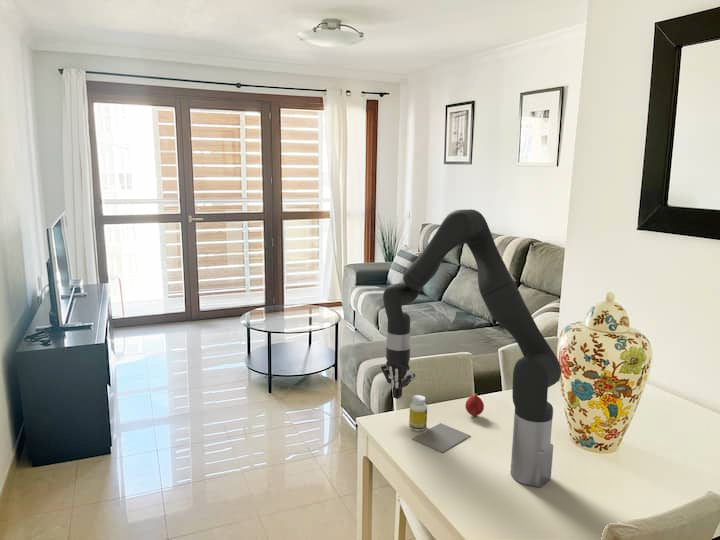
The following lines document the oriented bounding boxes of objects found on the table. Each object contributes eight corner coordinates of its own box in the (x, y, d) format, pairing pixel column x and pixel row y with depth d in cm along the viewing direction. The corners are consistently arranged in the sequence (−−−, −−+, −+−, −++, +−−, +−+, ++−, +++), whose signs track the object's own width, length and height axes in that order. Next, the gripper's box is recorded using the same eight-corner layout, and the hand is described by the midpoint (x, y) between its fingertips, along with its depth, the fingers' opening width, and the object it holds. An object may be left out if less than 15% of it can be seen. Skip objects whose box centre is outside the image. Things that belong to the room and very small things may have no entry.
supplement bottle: (427, 431, 160) (428, 401, 158) (409, 431, 160) (410, 401, 158) (425, 423, 165) (426, 394, 163) (408, 423, 165) (409, 393, 163)
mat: (470, 436, 157) (470, 435, 157) (442, 453, 147) (442, 452, 147) (440, 423, 165) (440, 423, 165) (412, 439, 155) (412, 438, 155)
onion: (461, 414, 171) (462, 391, 170) (475, 411, 174) (476, 388, 172) (472, 422, 166) (473, 398, 165) (486, 418, 169) (488, 395, 167)
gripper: (422, 348, 162) (420, 400, 165) (390, 338, 171) (389, 388, 174) (406, 353, 157) (405, 407, 160) (374, 343, 166) (373, 394, 169)
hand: (396, 397), depth 167 cm, fingers closed
